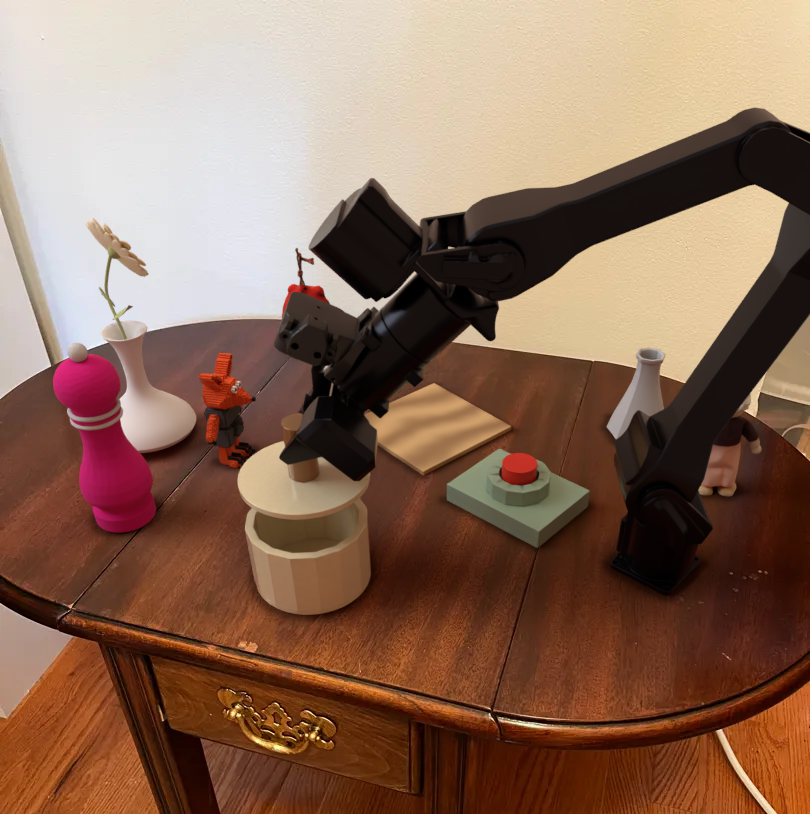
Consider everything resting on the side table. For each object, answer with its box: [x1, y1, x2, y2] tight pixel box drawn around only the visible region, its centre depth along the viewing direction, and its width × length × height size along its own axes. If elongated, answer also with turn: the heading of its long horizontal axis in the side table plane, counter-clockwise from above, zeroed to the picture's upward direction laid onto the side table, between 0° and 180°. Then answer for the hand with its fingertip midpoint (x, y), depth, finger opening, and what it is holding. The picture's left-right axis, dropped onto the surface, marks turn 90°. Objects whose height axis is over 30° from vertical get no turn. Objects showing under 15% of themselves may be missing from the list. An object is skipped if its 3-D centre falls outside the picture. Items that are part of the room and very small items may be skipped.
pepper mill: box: [52, 342, 157, 534], centre depth 83 cm, size 7×7×20 cm
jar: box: [244, 497, 372, 616], centre depth 79 cm, size 11×11×7 cm
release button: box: [501, 452, 537, 486], centre depth 87 cm, size 4×4×2 cm
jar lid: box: [237, 412, 372, 520], centre depth 74 cm, size 12×12×7 cm
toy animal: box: [198, 352, 257, 469], centre depth 93 cm, size 8×5×12 cm
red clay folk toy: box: [281, 247, 331, 318], centre depth 114 cm, size 8×7×15 cm
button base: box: [446, 448, 591, 549], centre depth 88 cm, size 12×9×4 cm
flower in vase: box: [85, 217, 197, 454], centre depth 94 cm, size 13×11×25 cm
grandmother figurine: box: [699, 392, 763, 497], centre depth 87 cm, size 8×4×13 cm, turn 92°
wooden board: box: [365, 382, 512, 476], centre depth 101 cm, size 14×14×1 cm
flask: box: [606, 347, 666, 440], centre depth 97 cm, size 7×7×10 cm
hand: (285, 450), depth 74 cm, fingers closed on jar lid, 3 cm apart
